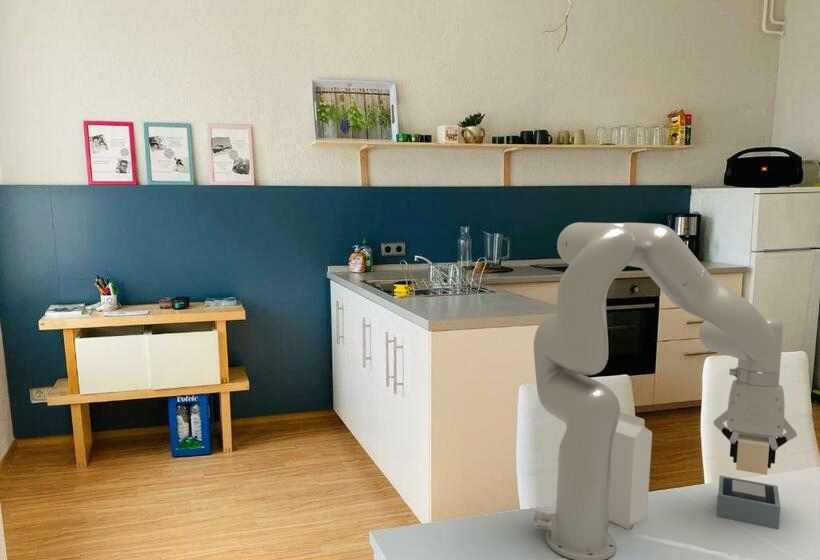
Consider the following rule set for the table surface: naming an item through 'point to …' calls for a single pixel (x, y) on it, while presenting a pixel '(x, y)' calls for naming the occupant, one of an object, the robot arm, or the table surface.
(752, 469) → the beige cube
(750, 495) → the block
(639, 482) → the milk
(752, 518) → the tote
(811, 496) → the table surface
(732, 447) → the robot arm
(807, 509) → the table surface
